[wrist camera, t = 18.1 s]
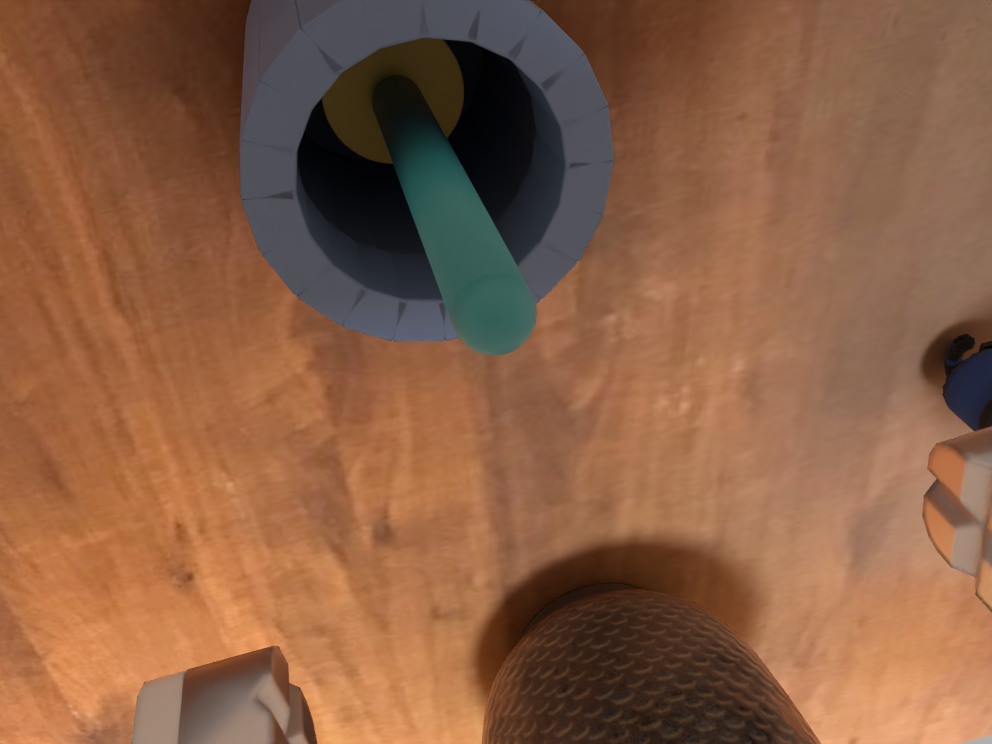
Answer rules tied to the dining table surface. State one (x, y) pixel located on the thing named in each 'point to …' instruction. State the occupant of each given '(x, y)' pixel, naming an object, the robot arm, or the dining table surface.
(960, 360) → the flashlight
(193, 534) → the dining table surface
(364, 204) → the jar
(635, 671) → the planter
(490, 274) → the brush
